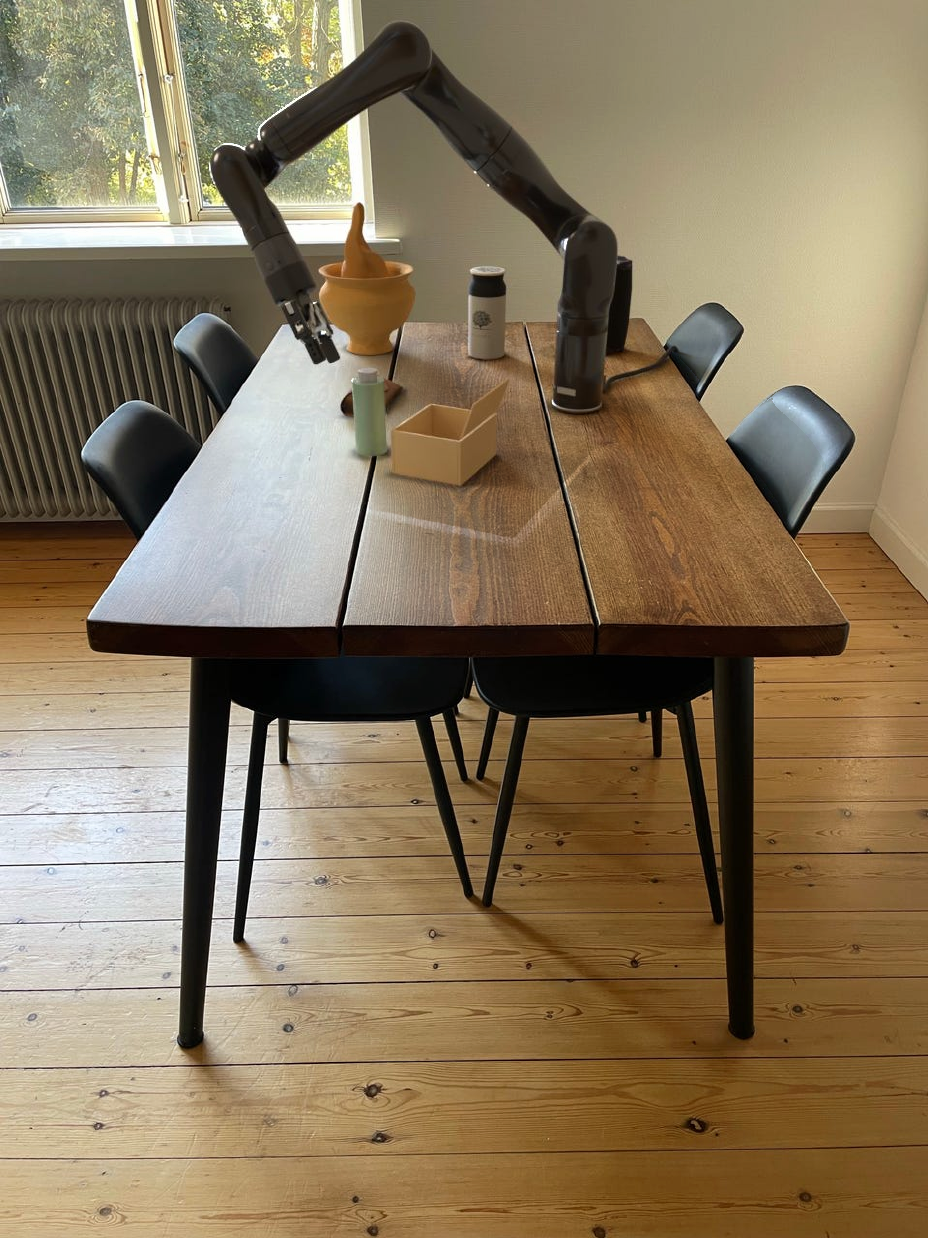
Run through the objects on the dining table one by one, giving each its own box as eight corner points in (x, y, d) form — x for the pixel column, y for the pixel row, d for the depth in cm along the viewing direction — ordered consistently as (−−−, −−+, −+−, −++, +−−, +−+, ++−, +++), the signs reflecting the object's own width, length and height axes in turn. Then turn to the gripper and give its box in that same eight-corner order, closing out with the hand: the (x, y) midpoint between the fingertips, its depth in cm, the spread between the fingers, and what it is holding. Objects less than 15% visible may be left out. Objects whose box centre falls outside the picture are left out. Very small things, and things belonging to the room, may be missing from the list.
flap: (508, 377, 145) (510, 378, 145) (496, 409, 149) (497, 410, 149) (472, 403, 134) (474, 404, 134) (460, 437, 138) (461, 438, 138)
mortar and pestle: (414, 362, 199) (410, 211, 183) (316, 361, 199) (304, 211, 184) (419, 336, 217) (416, 197, 201) (330, 335, 217) (319, 196, 201)
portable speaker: (583, 354, 205) (589, 261, 194) (592, 343, 212) (598, 253, 202) (622, 357, 202) (630, 263, 192) (629, 346, 210) (638, 255, 200)
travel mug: (481, 348, 208) (483, 264, 199) (511, 354, 204) (513, 268, 195) (461, 356, 203) (461, 270, 193) (491, 362, 199) (492, 275, 189)
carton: (431, 445, 157) (430, 403, 153) (495, 457, 153) (496, 413, 149) (392, 475, 147) (390, 430, 143) (460, 488, 142) (460, 442, 138)
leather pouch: (385, 416, 168) (365, 384, 166) (354, 433, 171) (334, 402, 168) (404, 385, 184) (386, 356, 181) (376, 401, 186) (357, 373, 184)
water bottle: (365, 445, 158) (361, 363, 150) (392, 450, 156) (389, 367, 148) (350, 455, 154) (344, 372, 146) (377, 460, 152) (373, 376, 144)
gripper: (289, 255, 144) (335, 352, 148) (316, 262, 158) (358, 351, 161) (249, 277, 146) (295, 373, 150) (279, 282, 160) (321, 370, 163)
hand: (328, 361), depth 155 cm, fingers open, 8 cm apart
